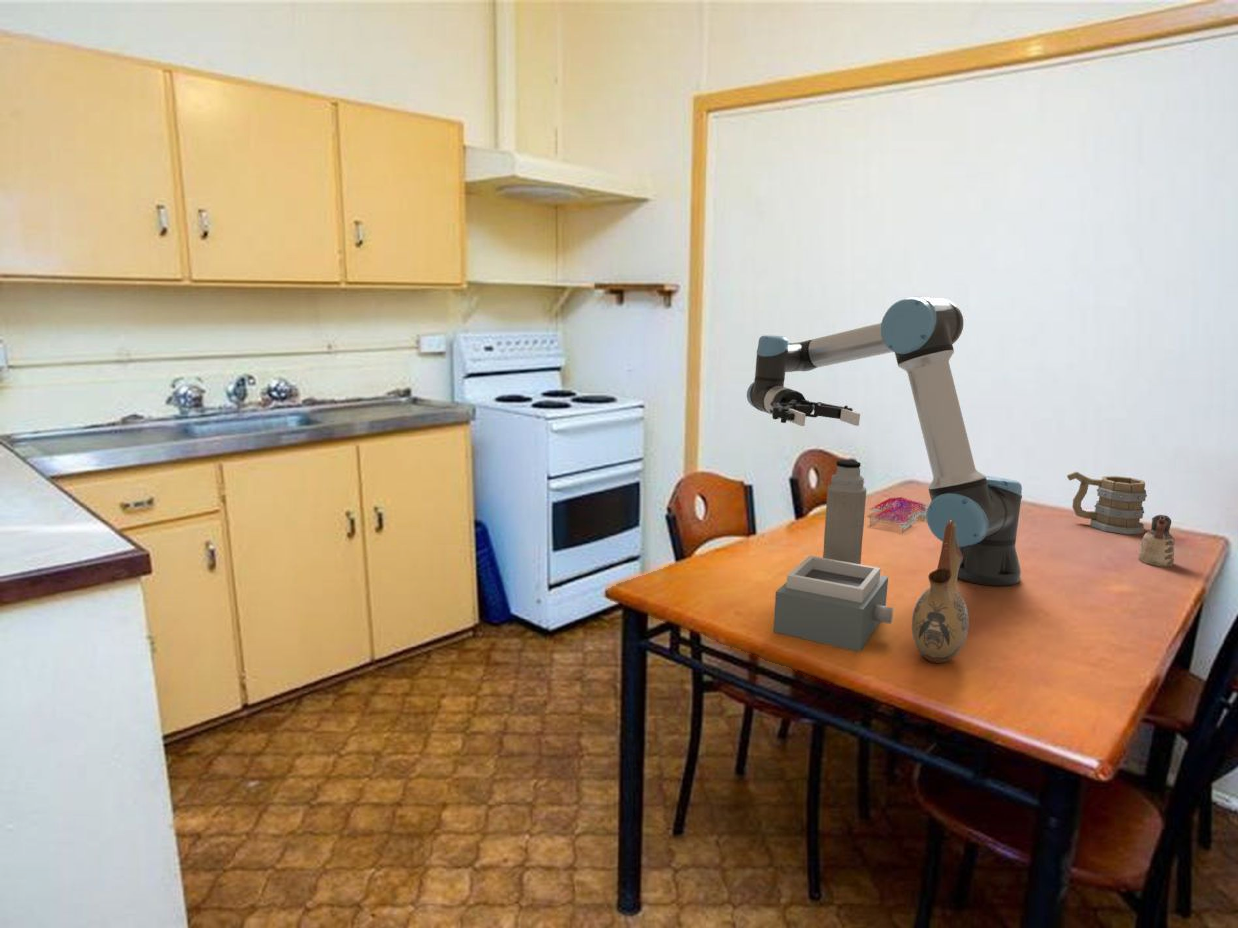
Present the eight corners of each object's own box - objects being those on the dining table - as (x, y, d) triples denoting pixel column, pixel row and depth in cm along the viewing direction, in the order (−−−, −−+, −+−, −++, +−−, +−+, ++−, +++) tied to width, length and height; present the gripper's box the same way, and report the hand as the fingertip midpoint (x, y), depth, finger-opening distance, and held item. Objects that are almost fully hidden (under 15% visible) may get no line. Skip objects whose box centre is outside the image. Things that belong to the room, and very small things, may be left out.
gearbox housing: (900, 618, 153) (905, 567, 151) (877, 655, 136) (882, 599, 134) (806, 598, 163) (809, 550, 161) (773, 631, 146) (776, 578, 144)
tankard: (1142, 526, 222) (1150, 475, 219) (1143, 537, 212) (1151, 483, 209) (1062, 515, 232) (1069, 466, 229) (1059, 525, 222) (1066, 474, 219)
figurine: (1175, 562, 190) (1183, 514, 188) (1170, 568, 185) (1178, 520, 183) (1141, 555, 195) (1148, 509, 193) (1135, 561, 190) (1142, 514, 188)
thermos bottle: (856, 582, 173) (866, 458, 168) (860, 594, 165) (870, 466, 160) (819, 579, 175) (828, 457, 169) (821, 591, 167) (830, 464, 161)
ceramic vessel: (918, 635, 145) (931, 505, 140) (971, 646, 141) (986, 513, 136) (899, 668, 132) (912, 526, 127) (956, 682, 127) (972, 535, 122)
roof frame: (907, 536, 211) (909, 517, 210) (853, 526, 220) (854, 508, 219) (939, 514, 234) (941, 497, 233) (889, 505, 243) (890, 489, 242)
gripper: (828, 418, 196) (877, 436, 176) (737, 418, 189) (778, 437, 169) (832, 389, 194) (882, 403, 174) (740, 388, 187) (781, 402, 167)
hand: (831, 419), depth 172 cm, fingers open, 13 cm apart
